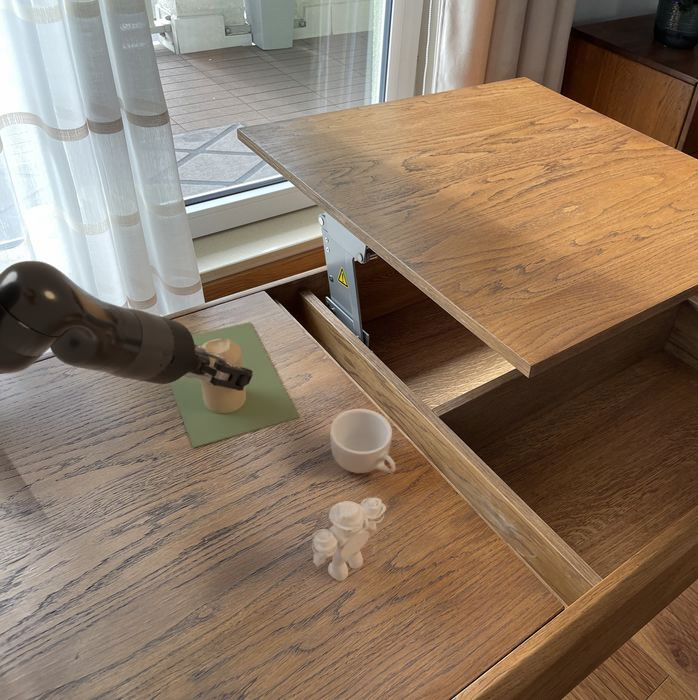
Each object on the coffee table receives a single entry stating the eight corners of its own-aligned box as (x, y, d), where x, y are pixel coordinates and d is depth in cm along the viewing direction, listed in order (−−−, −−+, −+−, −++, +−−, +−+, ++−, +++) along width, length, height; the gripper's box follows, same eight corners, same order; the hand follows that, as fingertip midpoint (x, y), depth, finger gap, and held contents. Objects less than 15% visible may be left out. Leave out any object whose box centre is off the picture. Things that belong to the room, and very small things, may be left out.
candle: (235, 380, 101) (229, 325, 94) (253, 404, 98) (248, 349, 91) (197, 395, 98) (188, 339, 91) (214, 419, 95) (206, 364, 88)
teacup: (317, 457, 92) (317, 428, 89) (361, 427, 97) (362, 399, 94) (370, 502, 88) (372, 474, 85) (413, 469, 93) (417, 442, 89)
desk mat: (193, 448, 91) (193, 447, 91) (155, 344, 105) (155, 343, 105) (299, 417, 97) (299, 416, 97) (250, 323, 111) (250, 322, 111)
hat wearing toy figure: (324, 602, 77) (324, 537, 70) (303, 577, 79) (301, 511, 72) (388, 555, 83) (395, 490, 75) (367, 533, 85) (371, 467, 77)
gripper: (78, 353, 80) (167, 371, 96) (178, 402, 77) (254, 412, 92) (107, 292, 81) (191, 320, 97) (207, 338, 77) (277, 359, 93)
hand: (221, 365), depth 95 cm, fingers open, 8 cm apart
